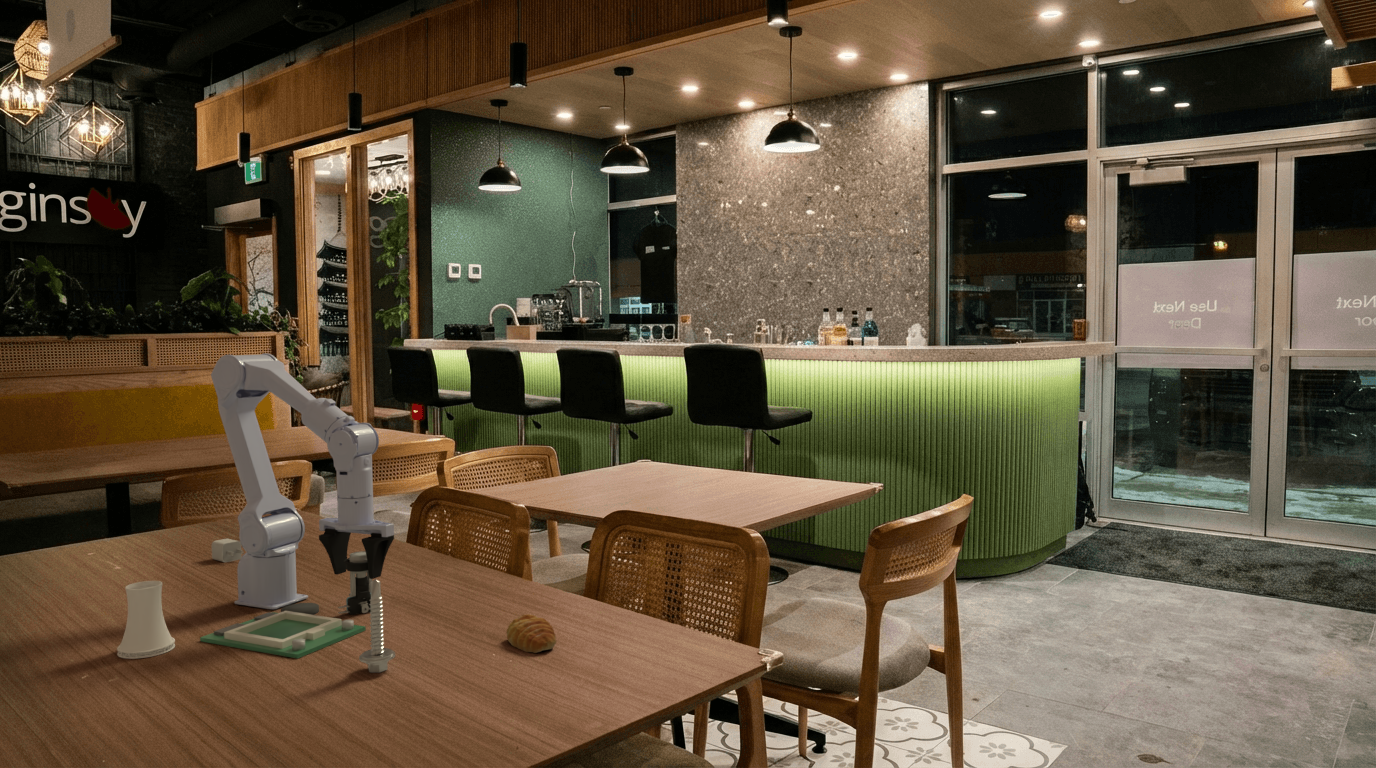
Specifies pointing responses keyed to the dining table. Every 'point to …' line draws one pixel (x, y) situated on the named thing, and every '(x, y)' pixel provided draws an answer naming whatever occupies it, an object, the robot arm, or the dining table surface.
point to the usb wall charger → (226, 550)
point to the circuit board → (285, 633)
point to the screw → (376, 634)
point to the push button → (358, 584)
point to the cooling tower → (145, 623)
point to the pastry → (531, 634)
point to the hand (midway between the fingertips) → (357, 575)
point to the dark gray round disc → (302, 608)
